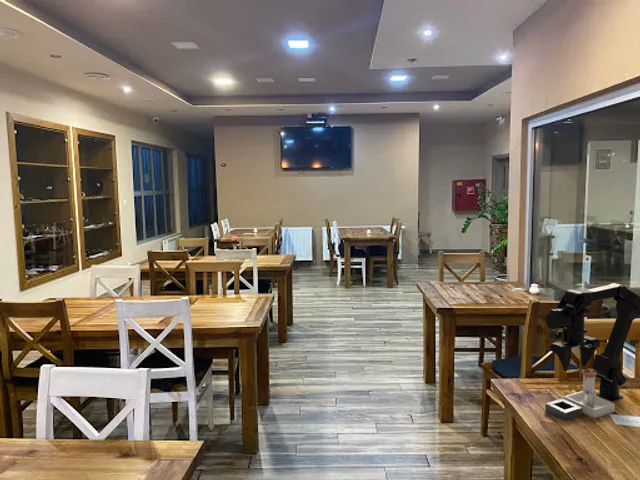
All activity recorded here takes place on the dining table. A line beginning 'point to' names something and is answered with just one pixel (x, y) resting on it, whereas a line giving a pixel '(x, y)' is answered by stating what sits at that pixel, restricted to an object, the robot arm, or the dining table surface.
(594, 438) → the dining table surface
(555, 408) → the dark grey square socket
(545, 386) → the dining table surface
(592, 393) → the pin
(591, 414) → the tray
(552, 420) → the dining table surface
